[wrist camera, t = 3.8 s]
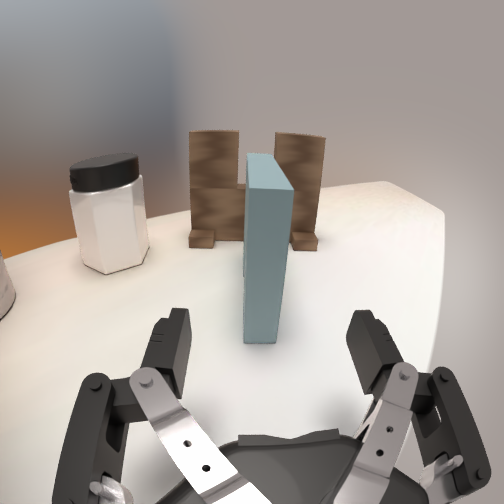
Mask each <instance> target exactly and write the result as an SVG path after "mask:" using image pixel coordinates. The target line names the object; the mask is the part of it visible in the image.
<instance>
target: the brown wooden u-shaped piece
mask: <svg viewBox="0 0 504 504" xmlns="http://www.w3.org/2000/svg"><path fill="white" fill-rule="evenodd" d="M325 139H326V138H324V137H321V136H315V135H305V134H295V133H282V132H276V133H275V148H274V159H275V161H276V162H277V164H278V165H279V167H280V168H281V170H282V171H283V173H284V175H285V176H286V178H287V179H288V181H289V182H290V184H291V186H292V187H293V189H294V198H293V208H292V218H291V227H290V236H289V242H291V244H292V247H293V250H302V251H317V245H318V239H317V237H316V235H315V233H314V231H315V224H316V217H317V209H318V202H319V194H320V186H321V177H322V167H323V159H324V149H325ZM238 148H239V130H198V131H197V130H195V131H190V132H189V168H190V169H189V170H190V204H191V226H192V230H191V232H190V235H189V248H213V246H214V242H215V240H225V241H244V222H245V193H246V184H237V179H238V178H237V177H238Z"/></svg>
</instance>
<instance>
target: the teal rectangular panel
mask: <svg viewBox="0 0 504 504" xmlns="http://www.w3.org/2000/svg"><path fill="white" fill-rule="evenodd" d="M293 198H294V189H293V187H292V186H291V184H290V182H289V181H288V179H287V178H286V176H285V175H284V173H283V171H282V170H281V168H280V167H279V165H278V164H277V162H276V161H275V159H274V157H273V156H272V154H261V153H247V166H246V193H245V222H244V253H243V277H244V303H243V324H244V343H276V338H277V331H278V324H279V317H280V309H281V302H282V294H283V287H284V279H285V271H286V262H287V254H288V245H289V236H290V227H291V218H292V208H293Z"/></svg>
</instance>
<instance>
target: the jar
mask: <svg viewBox="0 0 504 504" xmlns="http://www.w3.org/2000/svg"><path fill="white" fill-rule="evenodd" d="M138 163H139V162H138V155H137V154H133V153H123V154H112V155H105V156H100V157H95V158H91V159H87V160H84V161H81V162H78V163H76V164H74V165H72V166H71V167H70V181H71V184H72V190H70V191H69V196H70V201H71V207H72V213H73V218H74V223H75V228H76V232H77V237H78V241H79V246H80V250H81V254H82V257H83V261H84V264H85V265H87V266H89V267H91V268H93V269H95V270H97V271H99V272H102V273H104V274H110V273H113V272H116V271H119V270H123V269H126V268H130V267H133V266H136V265H140V264H141V263H142V261H143V259H144V257H145V254H146V252H147V250H148V247H149V239H148V231H147V223H146V215H145V204H144V194H143V182H142V175H139V164H138Z"/></svg>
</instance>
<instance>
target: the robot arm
mask: <svg viewBox="0 0 504 504" xmlns="http://www.w3.org/2000/svg"><path fill="white" fill-rule="evenodd" d="M14 298H15V290H14V287H13V285H12V282H11V280H10V277H9V274H8V272H7V269H6V266H5V263H4V260H3V257H2V254H1V251H0V319H1V318H2V317H3V316H4V315H5V314H6V312H7V311H8V310H9V308H10V307H11V306H12V303H13V301H14ZM191 341H192V332H191V325H190V317H189V310H188V309H184V308H172V310H171V313H170V316H169V318H161V319H160V320H159V321H158V322H157V323H156V324H155V325H154V328H153V331H152V335H151V337H150V340H149V343H148V346H147V349H146V352H145V355H144V358H143V361H142V364H141V367H140V369H138V370H136V371H135V372H134V373H133V374H132V375H131V376H130V377H128V378H123V379H114V380H110V379H109V378H108V376H106V375H105V374H103V373H92V374H90V375H88V376H87V377H86V378H85V379H84V380H83V382H82V384H81V387H80V390H79V393H78V396H77V399H76V402H75V405H74V408H73V412H72V415H71V418H70V422H69V425H68V428H67V432H66V436H65V439H64V443H63V447H62V451H61V455H60V460H59V464H58V469H57V474H56V479H55V484H54V489H53V495H52V504H134V503H133V497H132V494H131V492H130V491H129V490H128V489H127V488H126V487H125V486H123V485H121V475H122V467H123V460H124V453H125V447H126V440H127V434H128V429H129V423H132V422H141V421H148V420H149V422H150V424H151V425H152V427H153V429H154V430H155V432H156V434H157V435H158V437H159V438H160V440H161V442H162V443H163V445H164V446H165V448H166V449H167V451H168V452H169V454H170V455H171V457H172V458H173V460H174V461H175V463H176V464H177V466H178V467H179V468H180V470H181V471H182V473H183V474H184V475H185V478H184V479H183V480H182V481H181V482H180V483H179V484H178V485H176V486H175V487H174V488H173V489H172V490H171V491H170V492H169V493H167V494H166V495H165V496H164V497H163V498H162V499H160V500H159V501H158V502H157V503H156V504H450V503H452V502H454V501H457V500H459V499H461V498H463V497H465V496H467V495H469V494H471V493H473V492H475V491H477V490H479V489H481V488H482V487H484V486H485V485H486V484H487V483H488V481H489V480H490V477H491V468H490V464H489V461H488V457H487V454H486V451H485V448H484V445H483V443H482V439H481V437H480V434H479V431H478V429H477V426H476V423H475V421H474V418H473V416H472V413H471V411H470V409H469V406H468V404H467V402H466V399H465V397H464V395H463V393H462V390H461V388H460V386H459V384H458V382H457V380H456V378H455V376H454V374H453V372H452V371H451V370H449V369H448V368H446V367H438V368H436V369H435V370H434V371H433V372H432V374H430V373H420V372H417V370H416V368H415V367H414V366H413V365H411V364H409V363H406V362H404V361H403V359H402V357H401V354H400V352H399V350H398V348H397V346H396V344H395V343H394V341H393V339H392V337H391V335H390V333H389V331H388V329H387V327H386V325H384V324H383V323H382V322H381V321H380V320H379V319H375V318H374V316H373V314H372V312H371V311H370V310H356V311H355V312H354V313H353V316H352V319H351V322H350V325H349V328H348V331H347V334H346V342H347V345H348V348H349V351H350V354H351V357H352V360H353V362H354V365H355V368H356V371H357V374H358V377H359V380H360V383H361V386H362V389H363V392H364V395H367V394H373V396H374V398H373V399H372V401H371V403H370V405H369V408H368V410H367V412H366V414H365V416H364V418H363V420H362V422H361V424H360V427H359V428H358V430H357V432H356V433H355V435H354V436H353V438H352V437H349V436H346V435H340V434H339V430H338V429H331V430H323V431H315V432H312V433H309V434H306V435H303V436H300V437H297V438H293V439H285V438H279V437H273V436H268V435H238V441H233V442H230V443H227V444H225V445H222V446H220V447H219V448H217V447H216V446H215V445H214V444H213V443H212V441H211V440H210V439H209V438H208V436H207V435H206V434H205V433H204V431H203V430H202V429H201V427H200V426H199V425H198V423H197V422H196V421H195V419H194V418H193V417H192V415H191V414H190V413H189V412H188V410H187V409H184V408H183V407H182V406H181V404H180V403H179V401H178V400H177V399H182V393H183V387H184V381H185V375H186V370H187V364H188V358H189V353H190V347H191ZM436 406H437V409H438V411H439V414H440V417H441V422H440V419H439V416H438V413H437V411H436V408H435V407H436ZM410 421H412V424H413V428H414V431H415V434H416V438H417V441H418V445H419V448H420V452H421V456H422V460H423V464H424V470H423V471H422V474H421V479H420V480H419V484H418V483H417V482H415V481H414V480H412V479H411V478H409V477H408V476H407V475H405V474H404V473H402V472H401V471H399V470H398V469H397V468H395V467H394V464H395V462H396V460H397V457H398V455H399V452H400V450H401V447H402V444H403V442H404V439H405V436H406V433H407V430H408V427H409V424H410Z"/></svg>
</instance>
